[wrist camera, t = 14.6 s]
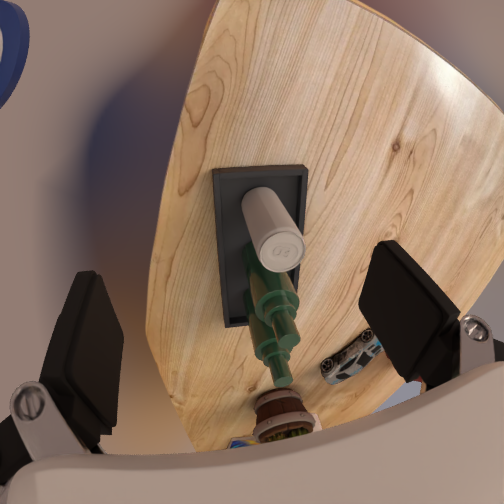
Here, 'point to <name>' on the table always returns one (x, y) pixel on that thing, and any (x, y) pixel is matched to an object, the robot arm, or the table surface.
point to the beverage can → (272, 230)
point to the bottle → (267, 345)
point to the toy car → (351, 358)
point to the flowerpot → (281, 416)
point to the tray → (235, 228)
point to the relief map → (242, 442)
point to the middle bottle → (272, 298)
